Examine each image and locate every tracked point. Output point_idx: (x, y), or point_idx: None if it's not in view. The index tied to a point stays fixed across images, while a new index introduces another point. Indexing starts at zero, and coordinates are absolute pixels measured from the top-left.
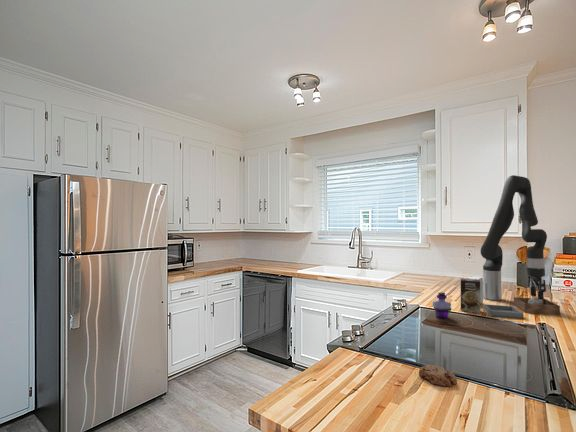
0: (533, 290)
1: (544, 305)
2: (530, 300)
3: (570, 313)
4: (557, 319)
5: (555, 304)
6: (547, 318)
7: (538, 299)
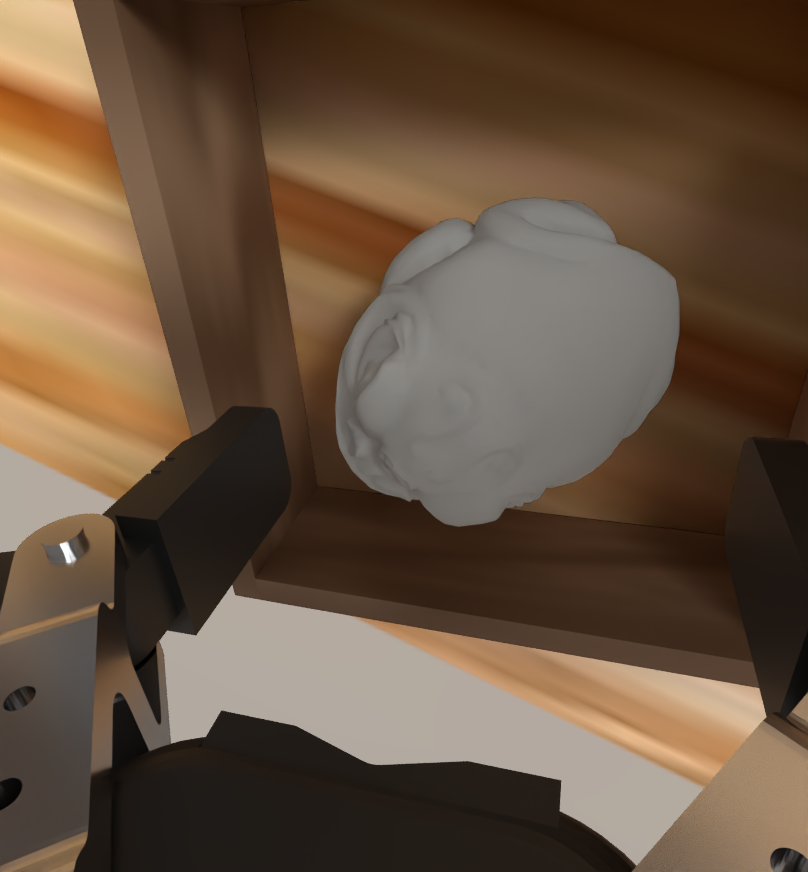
0: (775, 627)
1: (188, 393)
2: (462, 257)
3: (439, 651)
4: (40, 359)
5: (317, 592)
6: (11, 250)
7: (363, 427)
